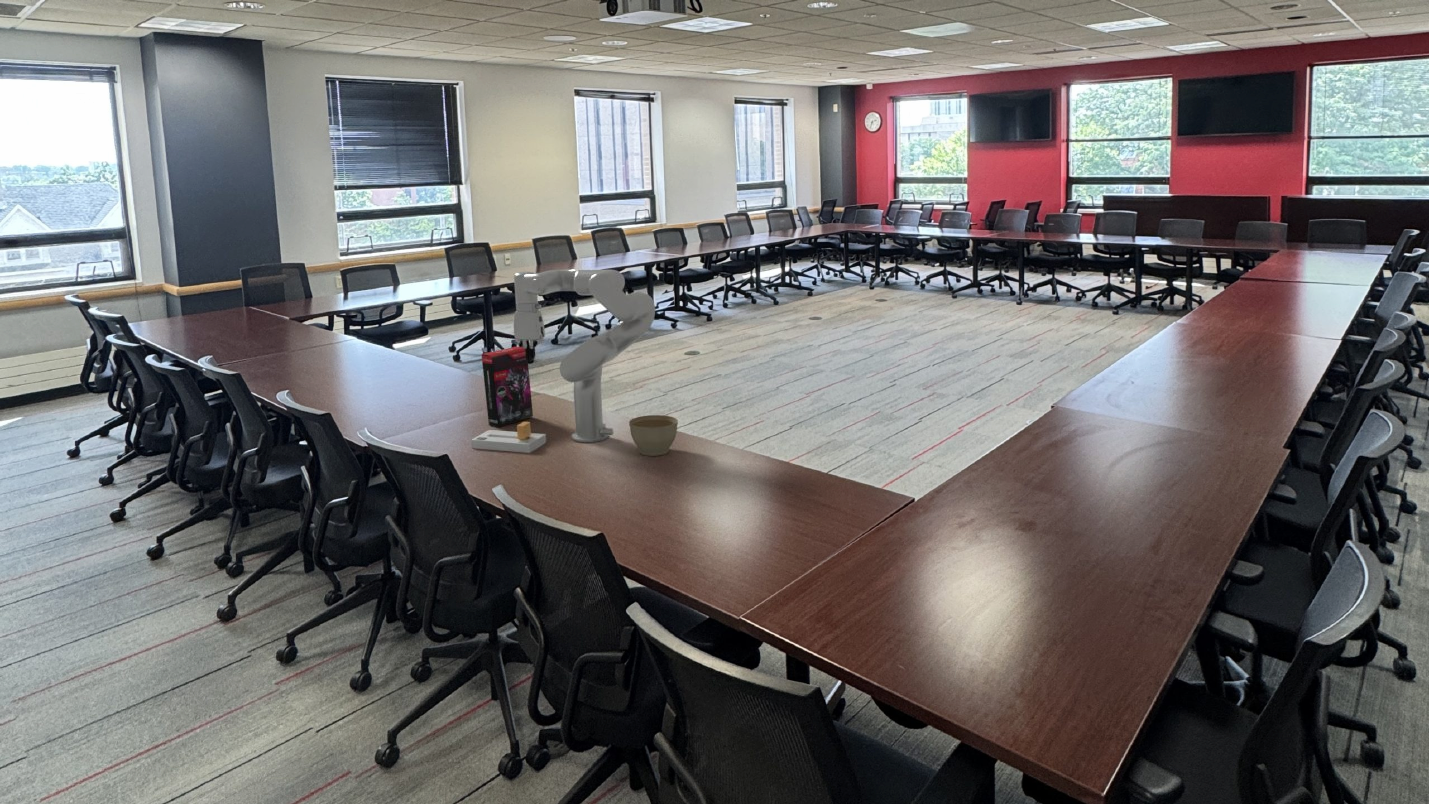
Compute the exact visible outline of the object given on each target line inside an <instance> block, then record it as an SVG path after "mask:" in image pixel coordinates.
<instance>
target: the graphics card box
mask: <svg viewBox="0 0 1429 804" xmlns="http://www.w3.org/2000/svg"><path fill="white" fill-rule="evenodd" d="M481 363H482V372H483V382H484V392H485V399H486V400H485V402H486V410H487V412H486V413H487V420H488V425H489V426H493V427H499V428H501V427H503V426H507V425H511V424H513V423H517V422H520V421H524V420H526V419H527V420H528V419H530V418H533V416H534V413H533V403H532V402H533V401H532V391H531V380H530V371H529V360H527V357H526V353H525V348H524V347H523V346H518V345H517V346H516V345H515V346H513V347H508V348H504V349H503V348H502V349H498V350H495V351H489V352H485V353H482V354H481Z"/></svg>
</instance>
